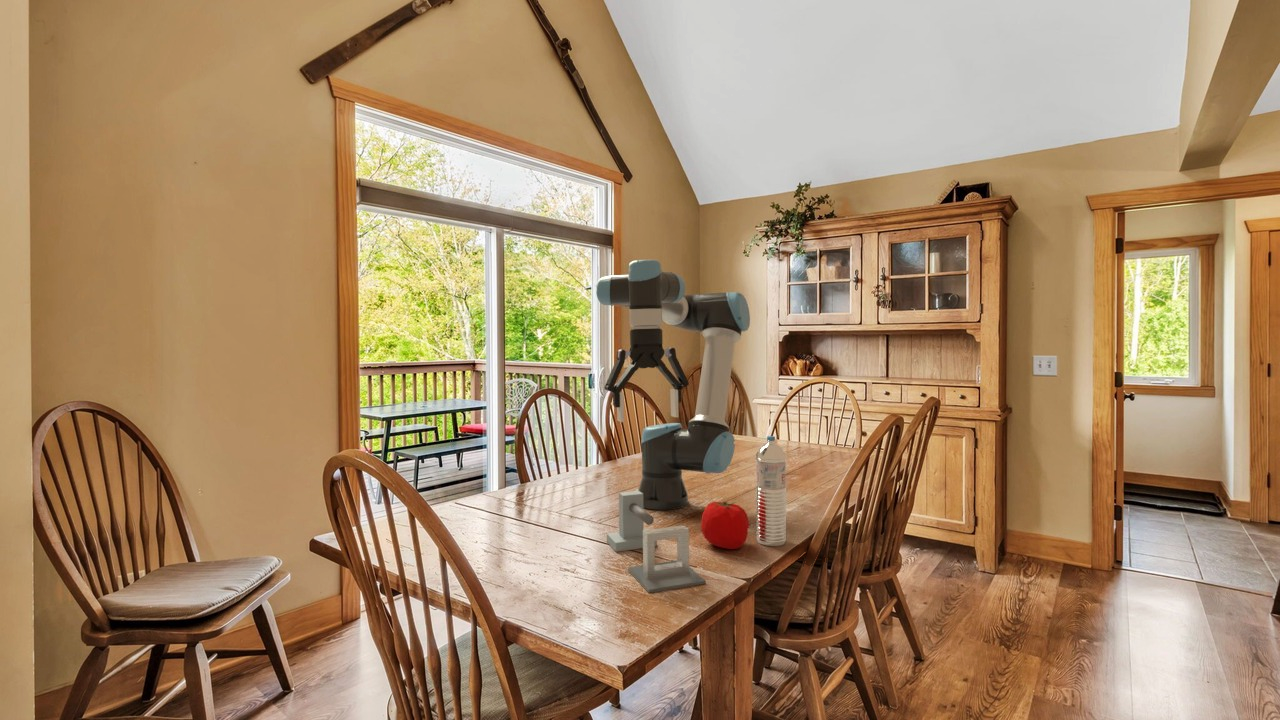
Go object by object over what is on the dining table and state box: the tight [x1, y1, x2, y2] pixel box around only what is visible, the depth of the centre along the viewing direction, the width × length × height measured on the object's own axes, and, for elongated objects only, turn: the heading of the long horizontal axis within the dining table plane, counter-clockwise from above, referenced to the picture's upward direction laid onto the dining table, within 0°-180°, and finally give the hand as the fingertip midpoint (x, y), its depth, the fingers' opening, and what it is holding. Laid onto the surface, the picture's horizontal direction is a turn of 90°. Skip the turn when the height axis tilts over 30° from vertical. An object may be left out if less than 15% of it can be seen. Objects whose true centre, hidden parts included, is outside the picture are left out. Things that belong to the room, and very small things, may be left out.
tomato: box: [700, 501, 750, 550], centre depth 139 cm, size 11×13×10 cm
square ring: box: [642, 525, 690, 579], centre depth 121 cm, size 9×2×9 cm, turn 110°
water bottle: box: [755, 435, 787, 547], centre depth 141 cm, size 7×7×25 cm
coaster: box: [627, 559, 707, 594], centre depth 121 cm, size 12×12×1 cm
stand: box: [606, 490, 658, 552], centre depth 137 cm, size 16×10×12 cm, turn 20°
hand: (648, 419), depth 140 cm, fingers open, 13 cm apart
